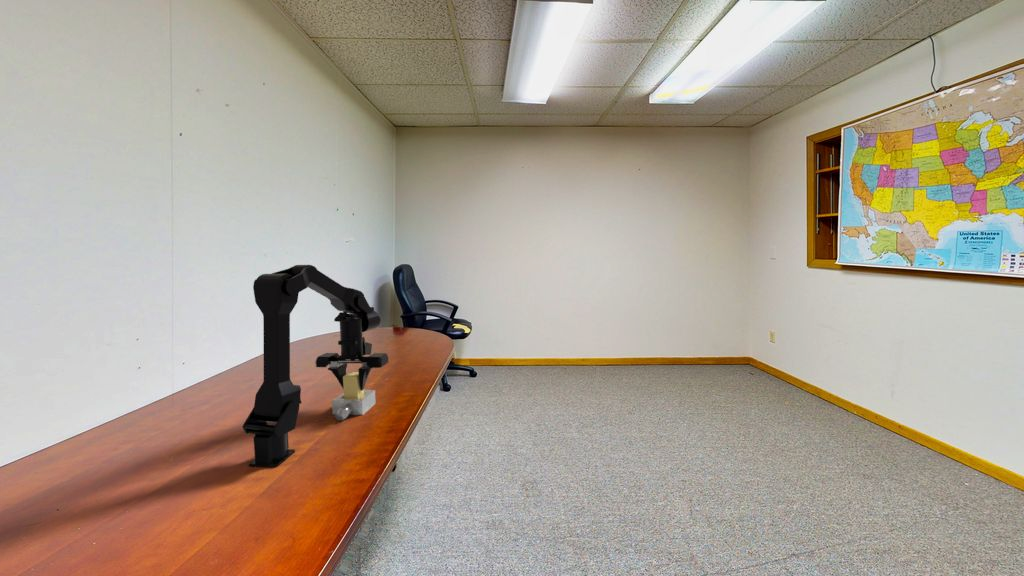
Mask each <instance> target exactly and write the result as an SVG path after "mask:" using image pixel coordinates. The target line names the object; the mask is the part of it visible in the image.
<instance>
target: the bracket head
mask: <svg viewBox="0 0 1024 576" xmlns="http://www.w3.org/2000/svg"><path fill="white" fill-rule="evenodd" d="M376 404H377V403H376V389H375V390H374V389H369V388H364V395H363V396H362V397H361V398H360V399H346V398H344V391H343V392H341V393H340V394H339V395H338V396H336V397H335V398H334V399H331V405H332V406H331V408H332V415H334V417H335V419H336V420H337V421H338V422H339V421H340V422H343V421H344V420H345V419H347V418H348V417H349V416H350V415H351V416H364V415H365V414H366V413H367V412H368V411H369V410H370V409H372V408H373V407H374V405H376Z"/></svg>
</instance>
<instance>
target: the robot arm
mask: <svg viewBox="0 0 1024 576" xmlns="http://www.w3.org/2000/svg"><path fill="white" fill-rule="evenodd" d="M252 288H253V295H254V302H255V304H256V306H257V307H258V309H259V310H260V312H261V314H262V316H263V320H262V321H263V381H262V383H261V385H260V387H259V388H258V390H257V392H256V394H255V395H254V396H255V399H254V404H253V408H252V410H251V411H250V412H249V415H248V416H247V418H246V419H245V421H244V423H243V424H242V430H243V432H244V433H245V434H247V435H248V434H250V435H254V436H253V450H254V458H253V459H252V460H250V461H249V462H248V463H247V464H248V466H249V467H278V466H279V465H281V464H282V463H283V462H284V461H286V460H287V459H288V458H290V457H291V456H292V455H293V454H295V453H296V449H293V448H292V449H291V448H290V445H289V434H288V433H289V432H291V431H293V430H295V429H296V426H297V420H298V415H299V411H300V405H301V404H302V400H301V391H302V388H301V385H299V384H294V383H293V382H292V380H291V324H290V323H291V317H290V316H291V314H292V312H293V310H294V308H295V307H296V306H297V303H298V301H299V294H300V292H302V291H304V290H306V289H307V288H309V289H310V290H312V291H314V292H315V293H317V294H320V295H321V296H323V297H325V298H326V299H328V300H329V301H330V305H331V306H332V307H333V308H334V309H336V311H338V312H339V313H338V314H337V316H336V317H335V318H334V322H337V323H338V322H339V337H340V339H339V340H338V341H337V342H338V343H337V345H338V346H340V354H339V353H338V352H325V353H323V354H321V355H319V356H317V357H316V359H315V367H316V368H327V367H328V366H329V367H328V368H327V370H328V371H331V373H332V374H333V375H334V377H335V378H336V380H337V381H338V383H339V384H340V386H341V388H342V389H343V391H344V388H343V376H344V375H346V374H347V368H348V364H361V367H359V368H358V372H359V382H360V389H361V391H362V390H365V386H366V384H367V380H368V377H369V374H370V372H371V370H372V369H373V368H374V369H376V368H377V369H379V368H383V367H384V366H385V365H387V364H388V363H389V356H388V354H387V353H385V352H375V353H372V349H373V348H372V347H373V344H372V343H371V342H370V343H369V342H367V341H366V338H365V336H363V333H365V332H368V331H371V330H374V329H376V328H378V327H380V324H381V316H380V315H379V314H378V312H377V311H376V310H375V307H374V306H370V304H369V302H368V301H367V299H366V297H365V294H364V292H362V291H361V290H359V289H355V288H351V287H348V286H343V285H341V284H340V283H339V282H337V281H335V280H334V279H332V278H331V277H329V276H328V275H326V274H324V273H323V272H322V271H320V270H318V269H317V267H316V266H314V265H312V264H295V265H293V266H290V267H288V268H286V269H282V270H278V271H275V272H272V273H262V274H260V275H259V276H258V277H257V278H256V279H255V280H253V286H252ZM367 355H368V356H367Z"/></svg>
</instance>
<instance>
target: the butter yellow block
mask: <svg viewBox="0 0 1024 576" xmlns="http://www.w3.org/2000/svg"><path fill="white" fill-rule="evenodd" d="M343 388H344V390H343V392H344V398H346V399H360V398H361V397H362V396H363V395H364V390H365V389H364V390H362V391H361V389H360V382H359V371H358V372H357V371H353V372H352V371H351V372H348V373H346V375H344V376H343ZM343 388H342V389H343Z"/></svg>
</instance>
